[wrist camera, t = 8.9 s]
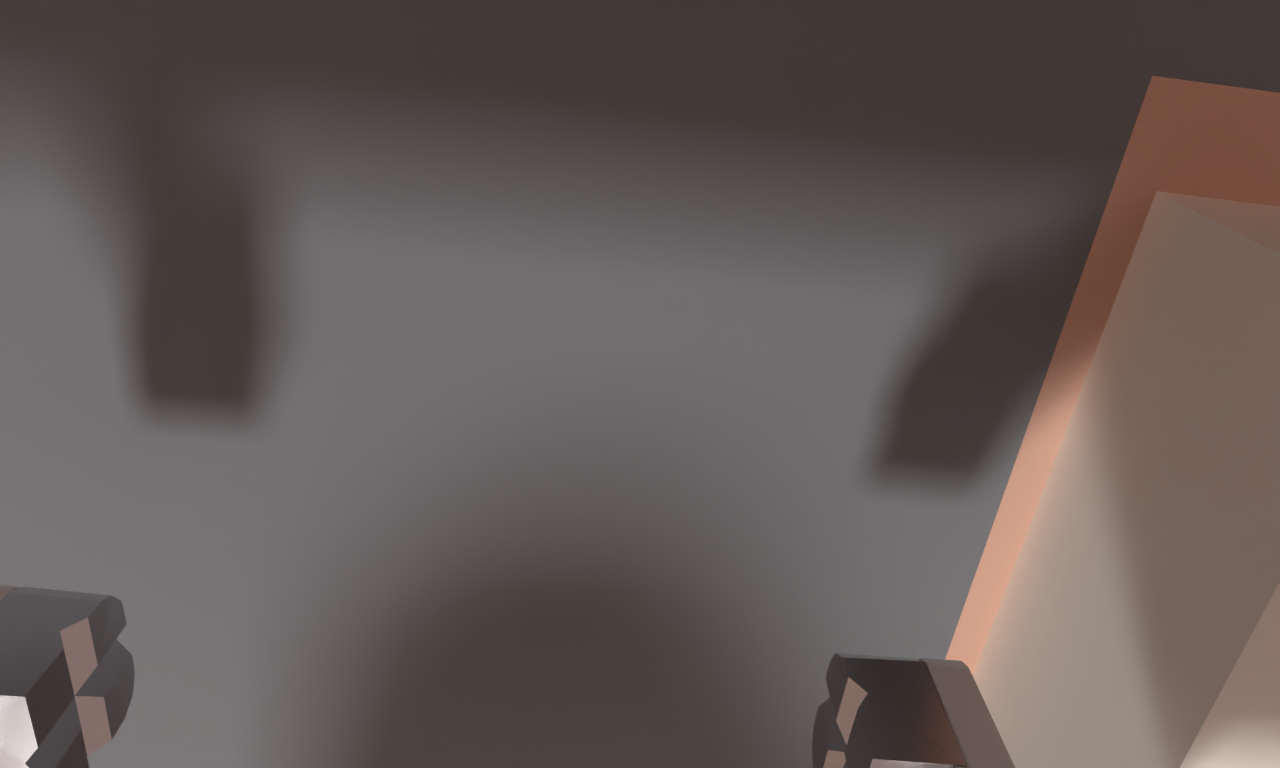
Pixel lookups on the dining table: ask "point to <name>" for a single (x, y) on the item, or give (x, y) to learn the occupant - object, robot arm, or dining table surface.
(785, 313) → the mat
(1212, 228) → the t block
